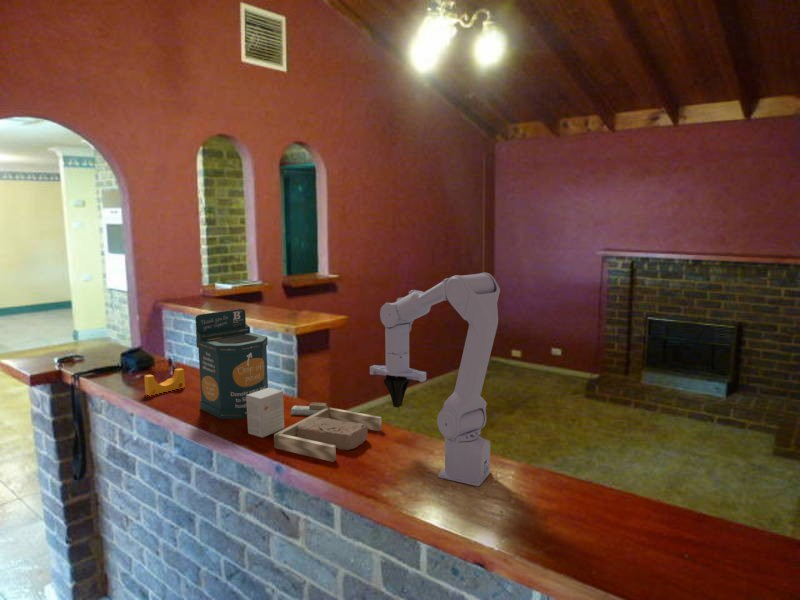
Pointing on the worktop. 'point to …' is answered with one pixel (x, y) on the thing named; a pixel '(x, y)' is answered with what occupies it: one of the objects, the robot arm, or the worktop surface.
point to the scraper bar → (308, 409)
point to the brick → (333, 432)
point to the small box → (265, 412)
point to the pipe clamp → (164, 383)
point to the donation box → (229, 363)
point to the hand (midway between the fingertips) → (397, 406)
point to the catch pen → (317, 449)
